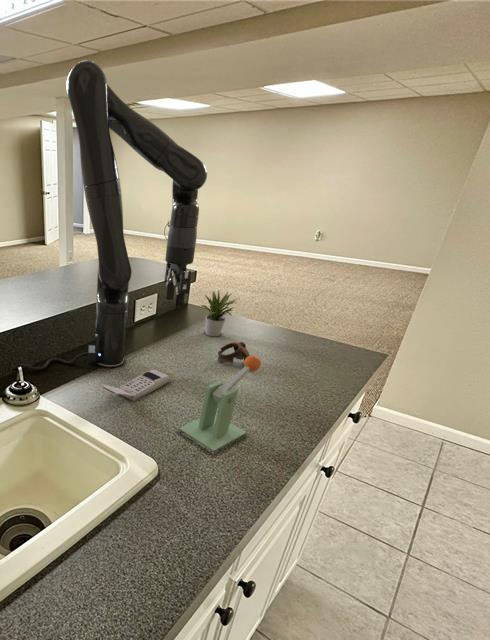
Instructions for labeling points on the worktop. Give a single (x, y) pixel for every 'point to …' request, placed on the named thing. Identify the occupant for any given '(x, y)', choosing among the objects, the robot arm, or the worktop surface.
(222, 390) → the switch lever
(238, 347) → the brown curved piece
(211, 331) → the house plant
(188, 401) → the worktop surface
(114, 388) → the mobile phone
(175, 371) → the worktop surface
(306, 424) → the worktop surface
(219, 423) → the power switch
